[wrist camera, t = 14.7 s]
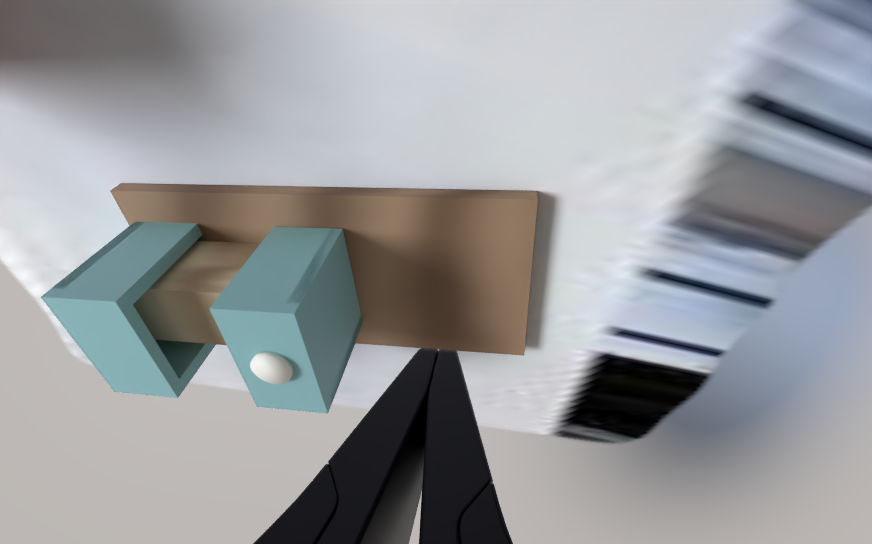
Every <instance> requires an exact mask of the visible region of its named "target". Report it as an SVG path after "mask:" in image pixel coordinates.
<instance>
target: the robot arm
mask: <svg viewBox="0 0 872 544" xmlns="http://www.w3.org/2000/svg"><path fill="white" fill-rule="evenodd" d="M328 463H329V465H328V464H326V465H325V466H324V467H323V468H322V470H321V471H320V472H319V473H318V475H317V476H316V477H315V478H314V479H313V481H312V482H311V483H310V484H309V485H308V486H307V488H306V489H305V490H304V491H303V492H302V493H301V495H300V496H299V497H298V498H297V499H296V500H295V501H294V502H293V503H292V505H291V506H290V507H289V508H288V509H287V510H286V511H285V512H284V513H283V514H282V515H281V516H280V517H279V518H278V519H277V520H276V521H275V523H273V524H272V525H271V526H270V527H269V529H267V530H266V531H265V532H264V533H263V535H261V537H259V538H258V539H257V540H256V541H255V542H254V543H253V544H409V540H410V536H411V532H412V528H413V524H414V519H415V515H416V511H417V507H418V503H419V499H420V495H421V491H422V502H421V519H420V538H419V544H513V543H512V540H511V538H510V535H509V532H508V530H507V527H506V524H505V521H504V517H503V514H502V512H501V508H500V505H499V501H498V498H497V494H496V490H495V487H494V484H493V482H492V481H493V480H492V476H491V473H490V469H489V466H488V462H487V458H486V455H485V451H484V447H483V444H482V440H481V437H480V433H479V429H478V426H477V422H476V418H475V415H474V411H473V407H472V404H471V400H470V397H469V393H468V389H467V386H466V382H465V378H464V375H463V371H462V368H461V364H460V360H459V357H458V353H457V351H455V350H446V349H441V350H439V351H438V350H437V349H432V348H421V349H419V350H418V351H417V353H416V354H415V355H414V356H413V358H412V359H411V360H410V361H409V363H408V364H407V365H406V366H405V367H404V369H403V370H402V371H401V372H400V374H399V375H398V376H397V377H396V379H395V380H394V381H393V382H392V384H391V385H390V386H389V387H388V388H387V390H386V391H385V392H384V393H383V395H382V396H381V397H380V398H379V400H378V401H377V402H376V403H375V404H374V406H373V407H372V408H371V409H370V411H369V412H368V413H367V414H366V416H365V417H364V418H363V419H362V420H361V422H360V423H359V424H358V425H357V427H356V428H355V429H354V430H353V432H352V433H351V434H350V435H349V437H348V438H347V439H346V440H345V441H344V443H343V444H342V445H341V447H340V448H339V449H338V450H337V451H336V453H335V454H334V455H333V456H332V458H331V459H330V460H329V461H328Z"/></svg>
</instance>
